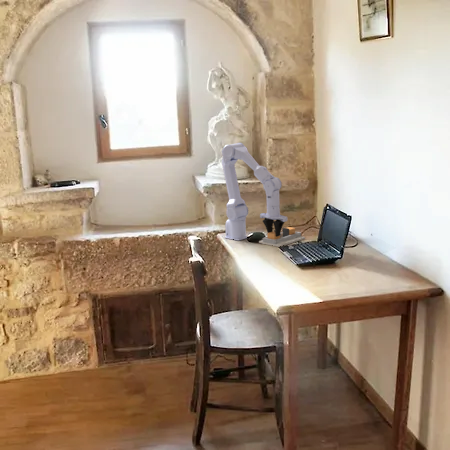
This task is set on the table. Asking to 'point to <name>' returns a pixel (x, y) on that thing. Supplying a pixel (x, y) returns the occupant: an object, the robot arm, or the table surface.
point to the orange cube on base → (273, 235)
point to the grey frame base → (284, 238)
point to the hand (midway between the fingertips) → (274, 235)
